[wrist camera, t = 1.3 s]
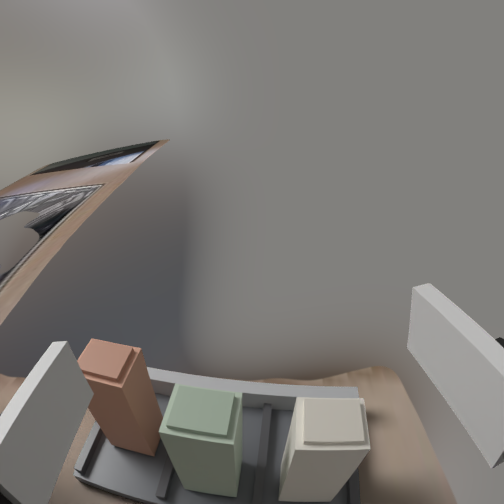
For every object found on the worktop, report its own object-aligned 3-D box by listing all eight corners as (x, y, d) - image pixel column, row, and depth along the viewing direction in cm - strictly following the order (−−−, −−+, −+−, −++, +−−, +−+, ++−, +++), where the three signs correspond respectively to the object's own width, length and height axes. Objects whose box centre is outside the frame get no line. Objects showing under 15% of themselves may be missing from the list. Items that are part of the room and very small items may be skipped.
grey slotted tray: (78, 480, 22) (61, 464, 20) (123, 382, 34) (114, 360, 32) (355, 523, 20) (370, 512, 18) (348, 408, 32) (357, 386, 30)
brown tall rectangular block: (111, 444, 25) (67, 369, 19) (124, 414, 28) (90, 334, 23) (154, 456, 24) (120, 384, 19) (165, 423, 28) (140, 344, 22)
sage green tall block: (184, 488, 22) (157, 428, 16) (193, 452, 25) (174, 379, 20) (236, 497, 21) (233, 441, 16) (242, 459, 25) (242, 389, 19)
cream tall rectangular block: (278, 500, 21) (296, 446, 16) (281, 463, 25) (297, 393, 19) (330, 501, 21) (372, 446, 15) (330, 464, 24) (365, 394, 19)
